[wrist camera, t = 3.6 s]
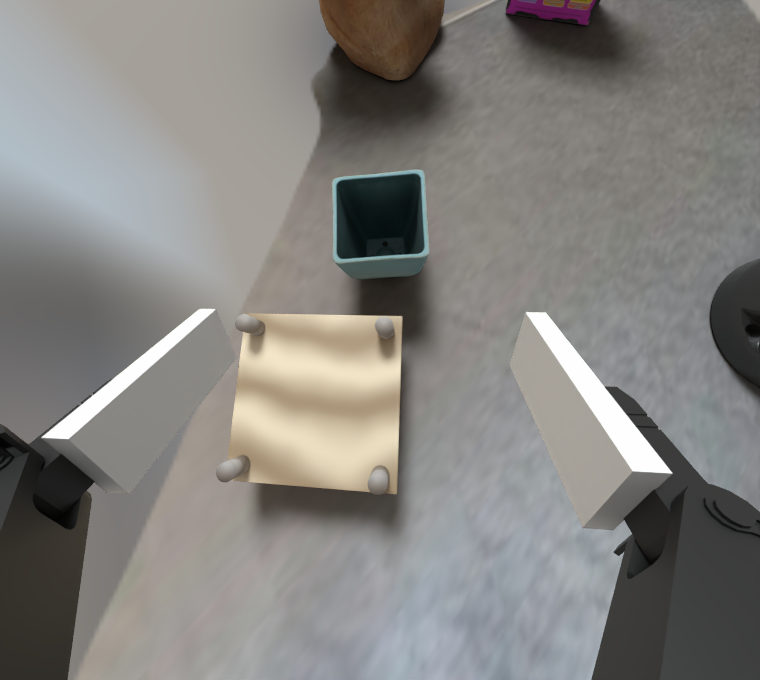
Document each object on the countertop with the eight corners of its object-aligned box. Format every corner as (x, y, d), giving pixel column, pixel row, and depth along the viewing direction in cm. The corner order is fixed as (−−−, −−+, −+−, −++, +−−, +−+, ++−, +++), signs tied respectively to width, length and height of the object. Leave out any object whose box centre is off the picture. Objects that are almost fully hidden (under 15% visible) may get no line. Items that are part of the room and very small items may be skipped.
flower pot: (424, 290, 34) (430, 256, 25) (351, 294, 34) (332, 263, 26) (420, 222, 35) (424, 167, 26) (350, 228, 36) (331, 177, 27)
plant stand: (273, 325, 35) (230, 306, 26) (403, 328, 33) (401, 309, 25) (258, 462, 32) (206, 489, 24) (398, 473, 30) (395, 506, 22)
